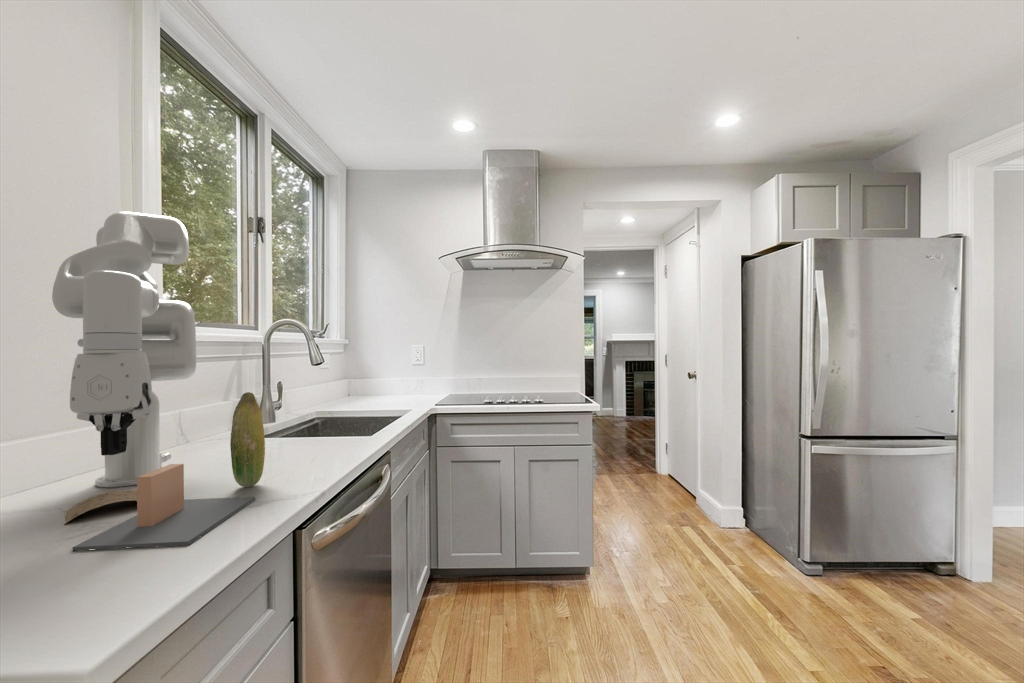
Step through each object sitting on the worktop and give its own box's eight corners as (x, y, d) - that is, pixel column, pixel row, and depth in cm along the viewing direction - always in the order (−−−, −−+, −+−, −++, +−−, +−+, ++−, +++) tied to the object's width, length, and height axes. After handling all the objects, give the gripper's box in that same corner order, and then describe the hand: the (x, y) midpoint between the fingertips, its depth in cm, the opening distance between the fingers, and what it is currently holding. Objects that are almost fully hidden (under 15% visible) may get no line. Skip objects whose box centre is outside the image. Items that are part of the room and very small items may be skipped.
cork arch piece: (59, 530, 75) (59, 513, 75) (56, 515, 81) (56, 500, 81) (167, 506, 85) (167, 492, 85) (156, 495, 92) (156, 482, 92)
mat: (167, 503, 85) (167, 500, 85) (254, 499, 86) (254, 496, 86) (72, 551, 65) (72, 547, 65) (188, 545, 66) (188, 541, 66)
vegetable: (272, 484, 96) (271, 391, 96) (248, 493, 90) (247, 394, 90) (249, 482, 98) (248, 390, 98) (224, 491, 92) (223, 393, 92)
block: (171, 508, 80) (170, 464, 80) (184, 508, 80) (183, 463, 80) (137, 526, 72) (136, 477, 72) (151, 526, 72) (151, 476, 72)
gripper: (44, 345, 72) (44, 461, 71) (143, 343, 73) (144, 456, 72) (85, 346, 79) (85, 451, 79) (174, 344, 80) (175, 447, 80)
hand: (114, 453), depth 76 cm, fingers closed
